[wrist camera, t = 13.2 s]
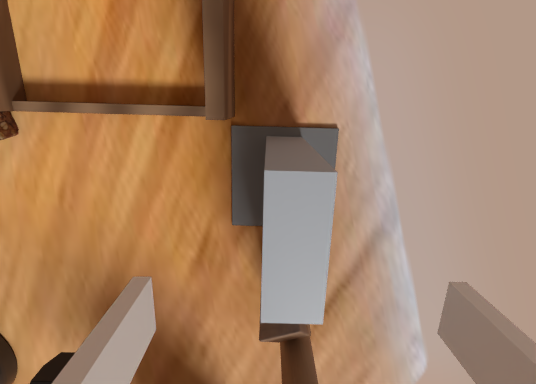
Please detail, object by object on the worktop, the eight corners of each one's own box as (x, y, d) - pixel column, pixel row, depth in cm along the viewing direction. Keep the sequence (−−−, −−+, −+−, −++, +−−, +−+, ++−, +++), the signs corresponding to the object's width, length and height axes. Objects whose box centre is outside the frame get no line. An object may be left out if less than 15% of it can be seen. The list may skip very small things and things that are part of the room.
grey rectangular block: (266, 136, 33) (264, 170, 16) (302, 137, 33) (337, 172, 16) (264, 218, 36) (260, 322, 19) (296, 219, 36) (322, 324, 19)
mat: (232, 223, 37) (232, 225, 37) (232, 125, 33) (231, 125, 33) (328, 226, 37) (329, 227, 37) (337, 128, 34) (338, 128, 33)
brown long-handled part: (288, 249, 38) (305, 370, 21) (308, 316, 41) (337, 472, 24) (261, 256, 38) (255, 381, 21) (282, 322, 41) (292, 480, 24)
